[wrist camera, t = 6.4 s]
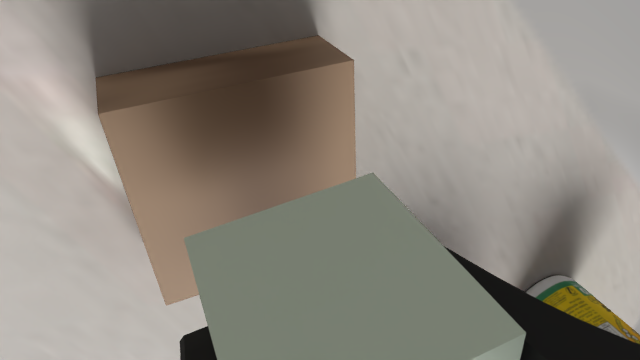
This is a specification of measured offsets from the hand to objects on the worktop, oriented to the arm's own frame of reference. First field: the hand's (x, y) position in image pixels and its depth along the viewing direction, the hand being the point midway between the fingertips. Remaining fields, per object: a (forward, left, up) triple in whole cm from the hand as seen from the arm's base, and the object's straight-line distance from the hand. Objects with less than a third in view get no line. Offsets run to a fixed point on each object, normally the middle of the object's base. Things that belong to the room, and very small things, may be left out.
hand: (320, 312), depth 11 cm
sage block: (0, 0, -2) cm, 2 cm away
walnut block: (0, 0, -8) cm, 8 cm away
